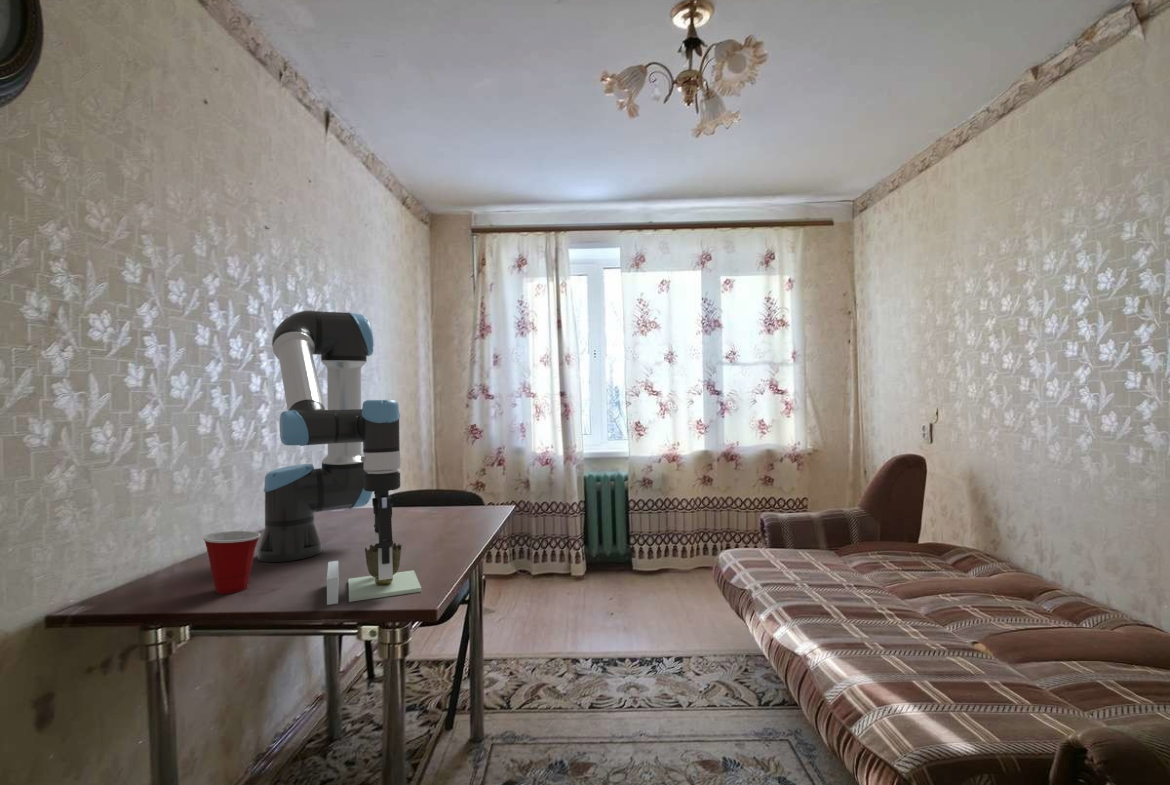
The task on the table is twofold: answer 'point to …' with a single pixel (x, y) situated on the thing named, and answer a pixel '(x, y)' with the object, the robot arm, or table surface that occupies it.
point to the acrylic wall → (332, 583)
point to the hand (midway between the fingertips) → (383, 570)
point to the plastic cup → (231, 559)
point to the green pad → (383, 586)
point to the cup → (373, 562)
